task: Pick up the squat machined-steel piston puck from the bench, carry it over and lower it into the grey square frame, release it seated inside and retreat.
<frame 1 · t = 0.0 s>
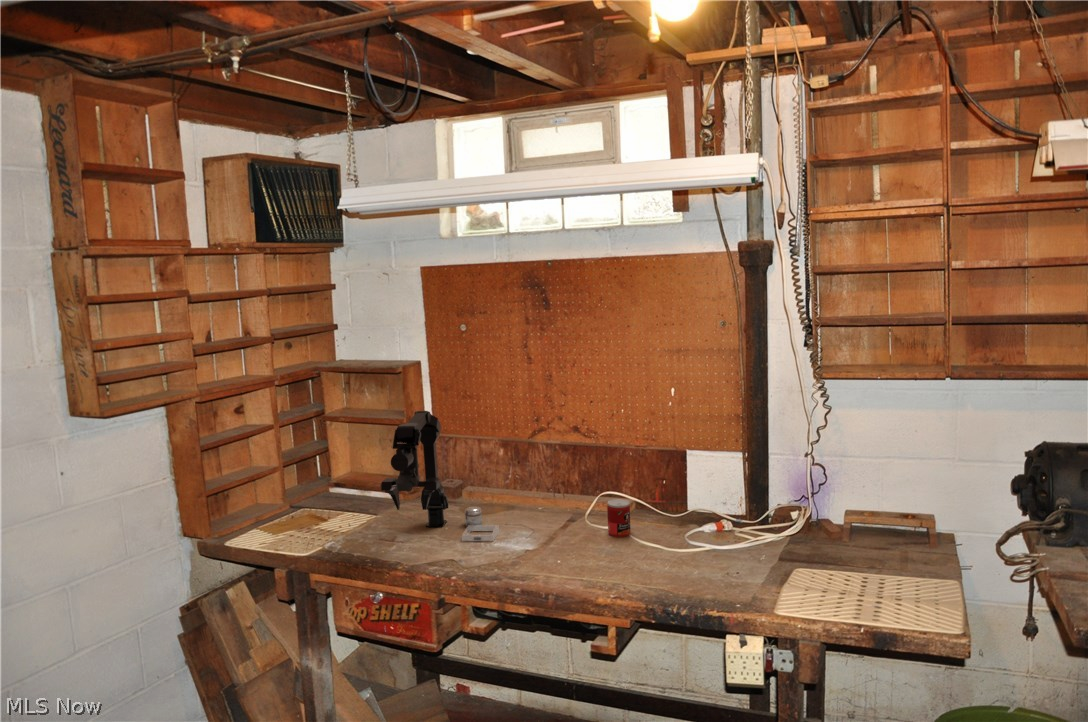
hand: (412, 509, 262), 15 cm above the table, fingers open, 9 cm apart
grey square frame: (480, 535, 278), on the table
piston: (473, 524, 290), on the table
canned food: (619, 534, 275), on the table
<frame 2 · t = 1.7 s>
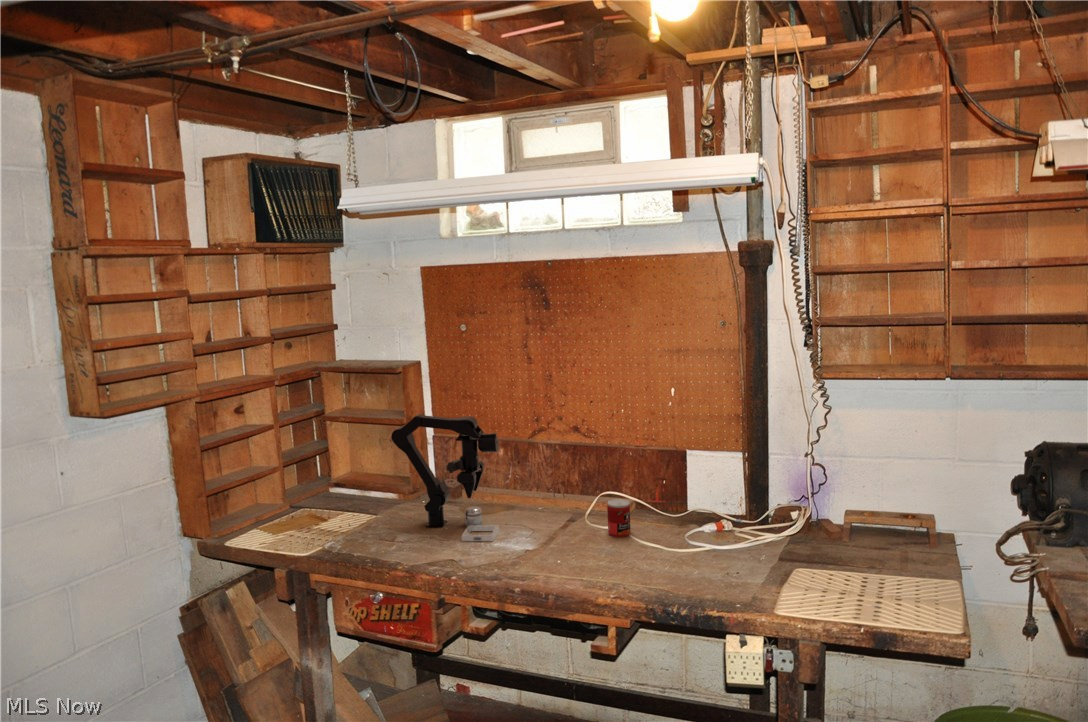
hand: (472, 494, 288), 11 cm above the table, fingers open, 9 cm apart
nothing on the table moved.
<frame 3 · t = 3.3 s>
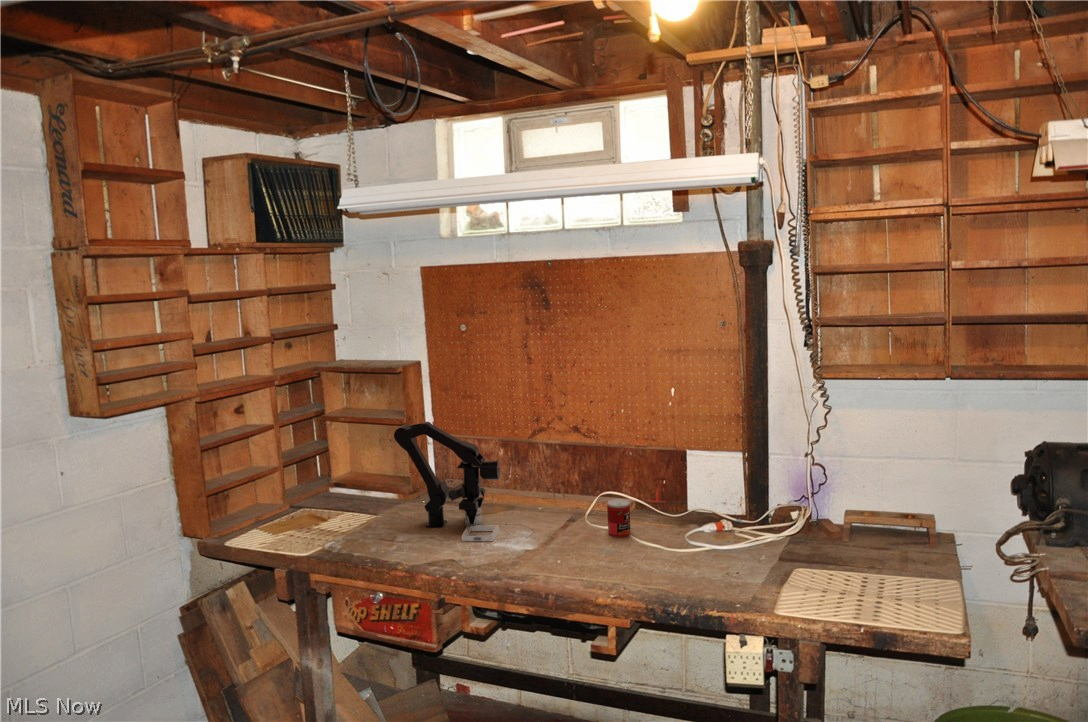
hand: (473, 521, 290), 1 cm above the table, fingers closed on piston, 6 cm apart
piston: (473, 524, 290), on the table, touching gripper
everything else where it was.
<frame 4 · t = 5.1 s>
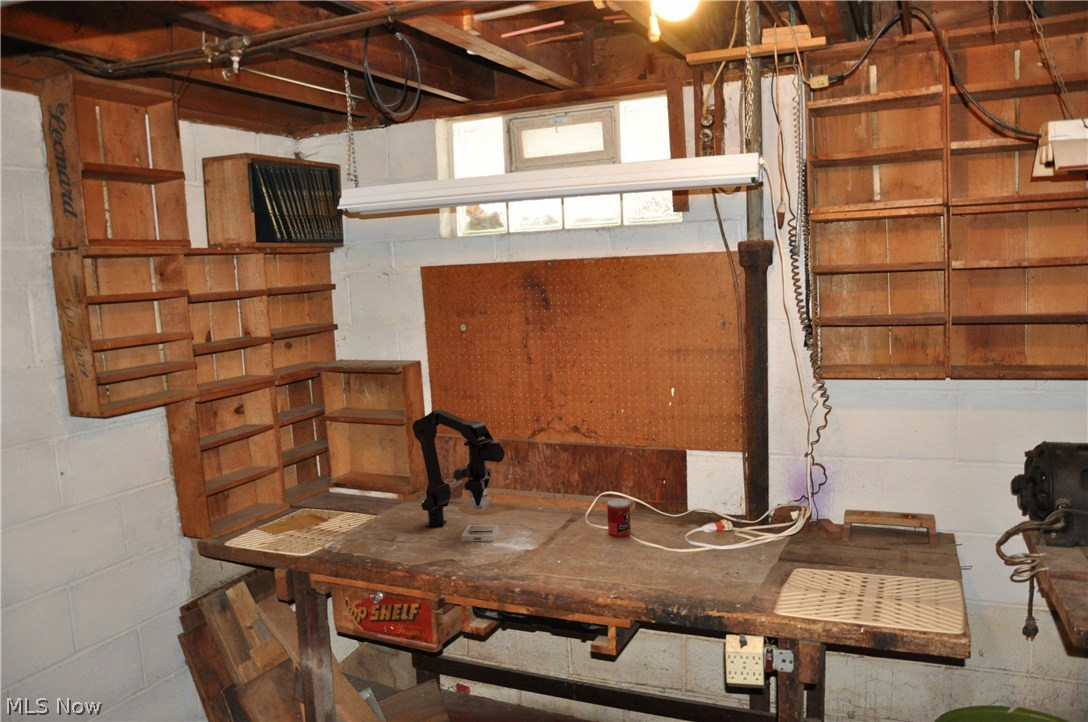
hand: (479, 502, 277), 12 cm above the table, fingers closed on piston, 6 cm apart
piston: (480, 506, 277), point 10 cm above the table, touching gripper
everything else where it was.
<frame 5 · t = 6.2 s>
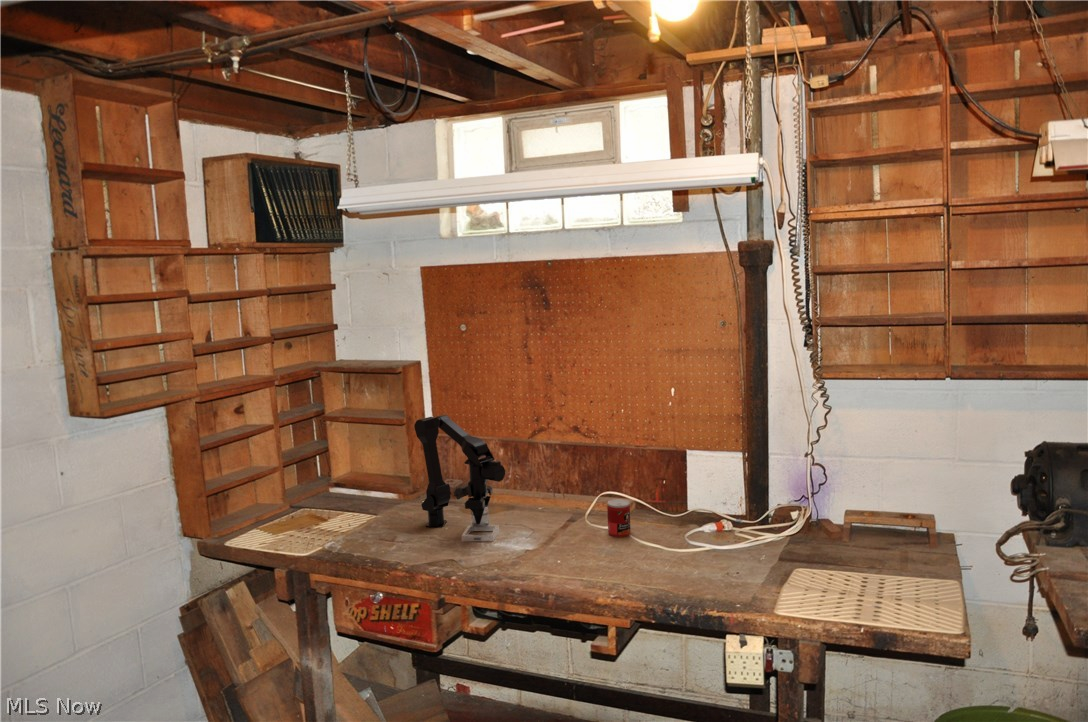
hand: (480, 521, 278), 5 cm above the table, fingers closed on piston, 6 cm apart
piston: (480, 524, 278), point 4 cm above the table, touching gripper
everything else where it was.
when the fingers open (3 cm above the table, at t = 7.1 s): piston drops 2 cm, resting in grey square frame.
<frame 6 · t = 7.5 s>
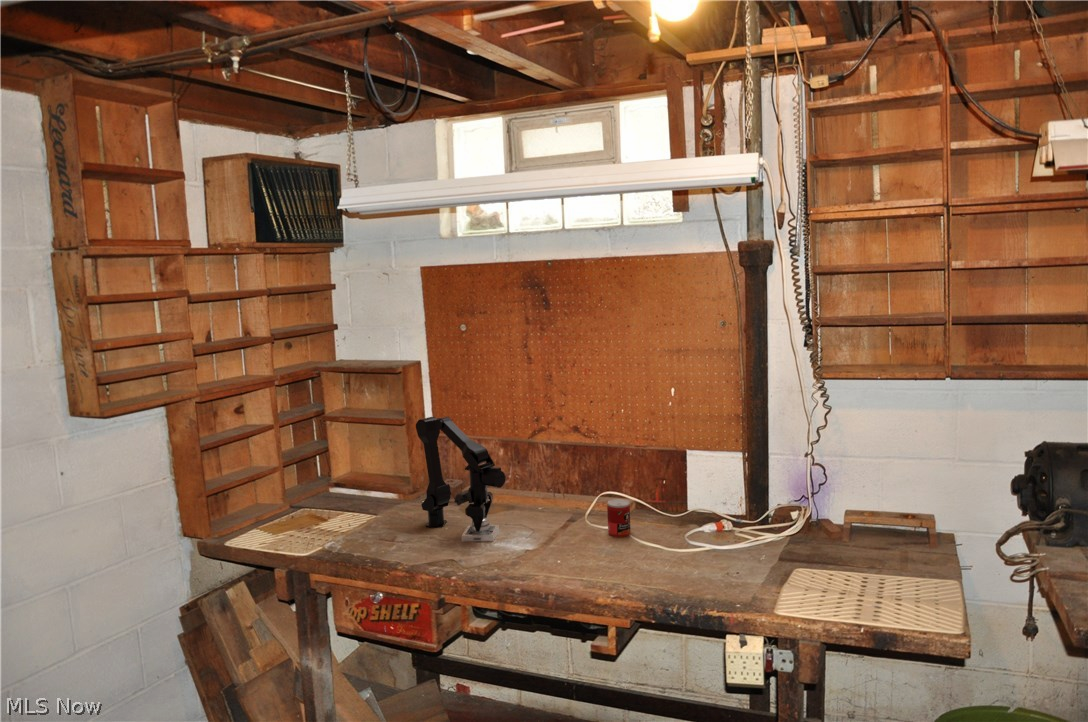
hand: (480, 527, 278), 3 cm above the table, fingers open, 9 cm apart
piston: (481, 535, 278), resting in grey square frame
everything else where it was.
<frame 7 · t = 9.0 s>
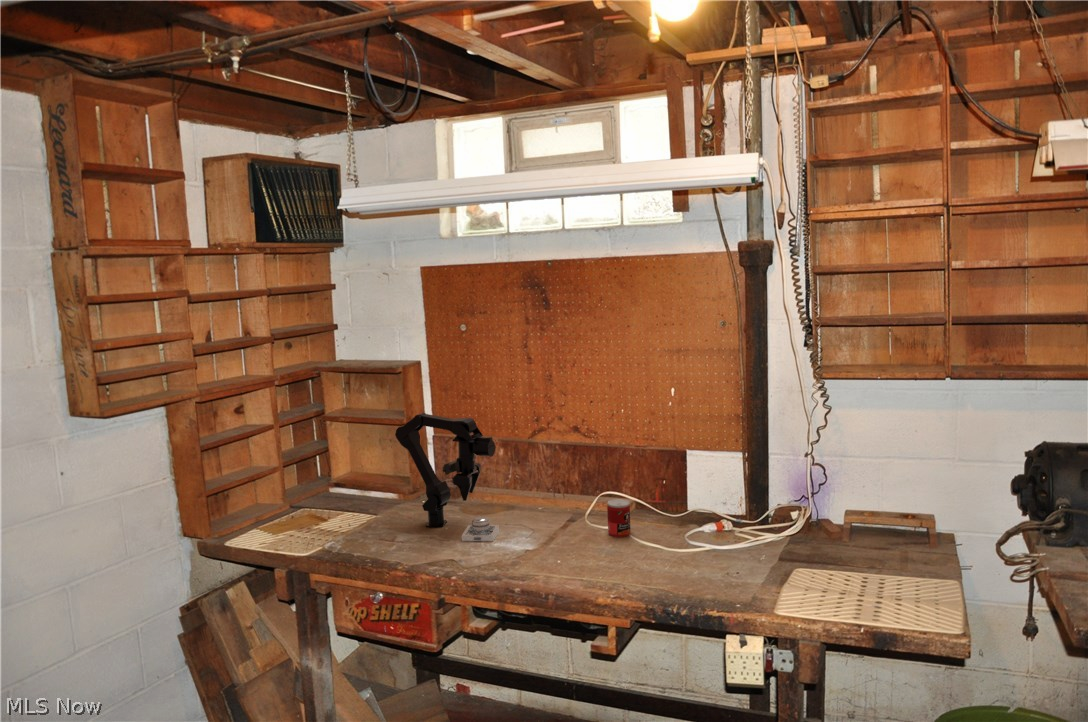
hand: (467, 496, 285), 12 cm above the table, fingers open, 9 cm apart
nothing on the table moved.
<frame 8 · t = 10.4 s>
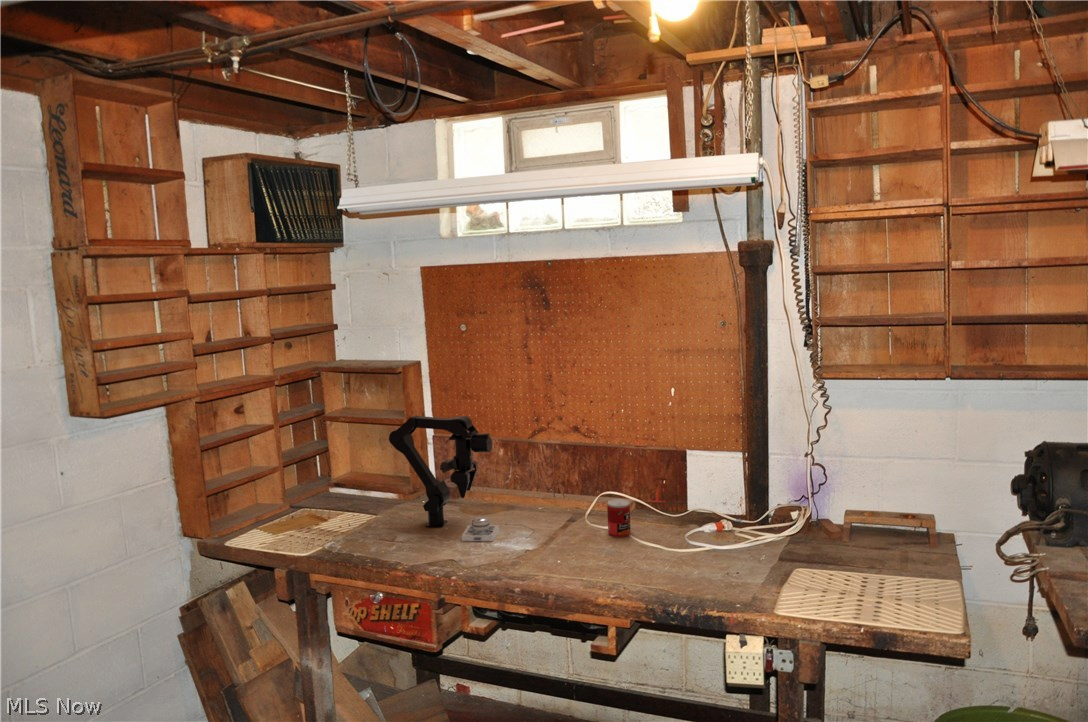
hand: (465, 494, 287), 12 cm above the table, fingers open, 9 cm apart
nothing on the table moved.
at the end: piston 0.5 cm off-centre on the grey square frame, point 0.0 cm above the grey square frame's base; piston tilted 0° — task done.
